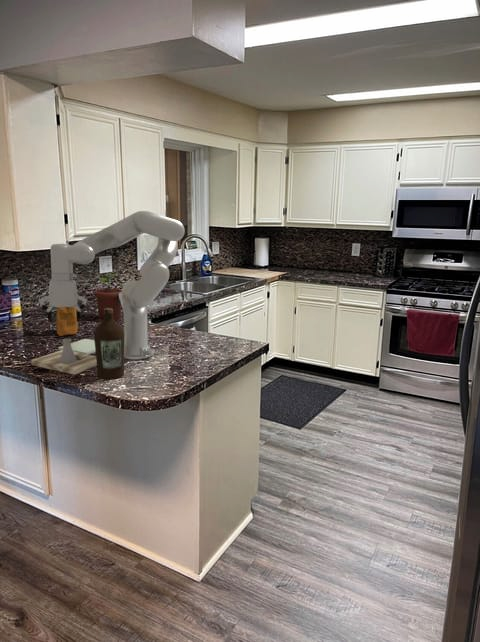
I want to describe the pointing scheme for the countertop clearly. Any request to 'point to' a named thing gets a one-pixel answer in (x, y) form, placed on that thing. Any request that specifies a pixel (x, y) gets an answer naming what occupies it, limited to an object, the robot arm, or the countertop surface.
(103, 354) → the olive oil
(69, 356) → the flask
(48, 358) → the tan flat rectangular frame
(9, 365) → the countertop surface
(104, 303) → the potted plant
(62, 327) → the coffee package
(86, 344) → the sage tile
